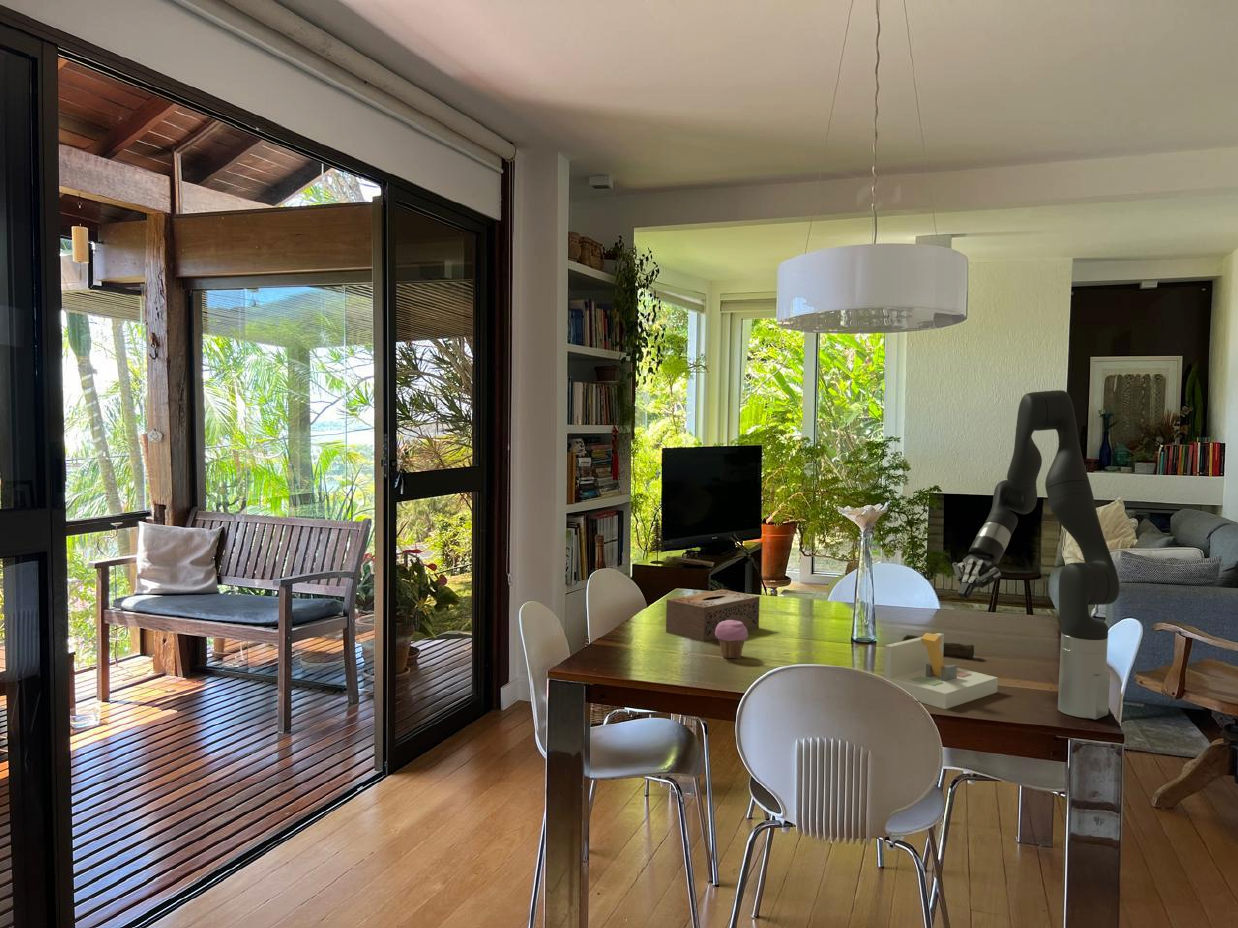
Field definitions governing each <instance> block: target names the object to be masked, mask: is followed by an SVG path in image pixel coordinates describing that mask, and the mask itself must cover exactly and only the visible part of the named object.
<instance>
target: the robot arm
mask: <svg viewBox="0 0 1238 928" xmlns="http://www.w3.org/2000/svg"><path fill="white" fill-rule="evenodd" d="M1016 418H1017V419H1016V426H1015V427H1016V428H1015V436H1014V446H1013V447H1014V449H1013V454H1012V458H1011V460H1010V463H1009V464H1010V465H1009V467H1008V471H1007V474H1006V479H1004V480H1001V481H999V482H998V483H997V484H996V485H995V488H994V491H993V498H992V505H991V506H992V507H991V509H990V511H989V514H988V517H987V518H986V520H985V522H984V524H983V525H982V527H981V528H980V529H979V531H978V532H977V534H976V536H975V539H974V540H973V541H972V544H971V546H970V547H969V550H968V553H967V555H966V557H965V558H963V559H962V562H959V563H957V562H956V561H955V562H952V564H951V565H952V568H953V571H954V574H955V576H956V579H957V581H958V582H959V584H960V586H959V588H958V590H957V594H958V597H959V599H961V600H968V599H969V598H971V595H972V594H973V591H974V590H975V589H977V588H980V589H983V588H985V587H986V586H988V585H990V584H992V583H993V582H996V581H997V580H998V579H1000V578H1002V574H1001V572H1000V570H999V568H997V567H998V564H999V563H1000V561H1001V558H1002V557H1003V555H1004V553H1005V551H1006V549H1007V547H1008V545H1009V542H1010V540H1011V537H1012V534H1013V533H1014V531H1015V529H1016V528H1017V526H1018V523H1019V519H1018V516H1017V515H1016V514H1015V513H1018V514H1020V515H1028V514H1029V513H1030V514H1031V512H1033V510H1034V509H1035V508H1036V506H1037V503H1038V502H1037V501H1038V489H1037V480H1038V477H1039V474H1040V471H1041V468H1042V465H1043V463H1042V462H1043V459H1042V454H1041V452H1040V450H1039V448H1038V446H1037V445H1036V442H1034V439H1033V437H1032V435H1033V433H1034V432H1039V431H1041V432H1042V431H1050V430H1051V431H1052V430H1056V432H1057V436H1058V448H1057V452H1056V454H1055V456H1054V459H1053V461H1052V463H1051V464H1050V465H1051V466H1050V468H1049V469H1048V472H1047V474H1046V477H1045V482H1044V486H1045V487H1044V488H1045V492H1046V496H1047V499H1048V500H1047V501H1048V504H1049V509H1050V511H1051V512H1052V514H1053V516H1054V517H1055V519H1056V520H1057V521H1058V523H1059V524H1060V525H1061V526H1062V527H1063V528H1064V529H1065V530H1066V532H1067V533H1068V534H1069V535H1070V536H1071V538H1073V540H1074V541H1075V542H1076V544H1077V546H1078V548H1079V549H1080V552H1081V555H1082V557H1083V560H1084V562H1069V563H1066V564H1065V565H1063V567H1062V569H1060V570H1061V571H1060V574H1059V577H1058V617H1059V621H1060V626H1061V627H1060V630H1061V631H1060V651H1059V653H1060V654H1059V669H1058V670H1059V672H1058V674H1059V675H1058V696H1057V710H1058V711H1059V712H1061V713H1062V714H1065V715H1068V716H1072V717H1076V718H1081V719H1082V718H1083V719H1092V720H1099V719H1101V718H1103V717H1106V716H1108V715H1109V709H1110V707H1109V706H1110V683H1111V673H1110V671H1107V662H1108V644H1109V643H1108V641H1109V627H1108V625H1107V624H1106V623H1105V622H1103V621H1100V620H1097V619H1095V618H1093V617H1091V615H1090V612H1089V611H1090V610H1089V606H1093V605H1095V606H1097V605H1103V606H1104V605H1110V604H1113V603H1115V602H1116V600H1118V598H1119V595H1120V580H1119V575H1118V571H1117V569H1116V565H1115V563H1114V560H1113V558H1112V555H1111V551H1110V550H1109V546H1108V544H1107V542H1106V539H1105V536H1104V533H1103V529H1102V526H1101V522H1100V519H1099V515H1098V512H1097V507H1096V503H1095V497H1094V494H1093V491H1092V490H1093V489H1092V486H1091V482H1090V478H1089V476H1088V472H1087V468H1086V465H1085V461H1084V458H1083V453H1082V449H1081V443H1080V438H1079V432H1078V427H1077V426H1078V425H1077V420H1076V415H1075V408H1074V404H1073V401H1072V399H1071V396H1070V395H1069V393H1068V392H1067V391H1066V390H1061V389H1060V390H1059V389H1058V390H1056V389H1055V390H1045V391H1033V392H1028V393H1025V394H1024V395H1023V396H1022V398H1021V400H1020V402H1019V405H1018V410H1017V417H1016ZM1014 512H1015V513H1014ZM963 571H964V572H963ZM963 574H964V575H963Z"/></svg>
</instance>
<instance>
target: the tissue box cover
mask: <svg viewBox="0 0 1238 928" xmlns="http://www.w3.org/2000/svg"><path fill="white" fill-rule="evenodd" d="M665 611H666V612H665V633H668V634H672V635H675V636H679V637H684V638H687V639H688V638H689V639H691V640H696V641H700V642H707V641H711V640H716V639H718V638H717V637H716V636H715V630H716V627H717V625H718V624H719V623H720V622H722V621H726V620H735V621H740V622H742V623H743V625H744V626H745V627H746V629H747V631H748V632H750V631H753V630H757V629H759V627H760V596H758V595H753V594H750V593H749V594H748V593H745V592H744V593H743V592H738V591H733V590H728V589H718V590H711V591H706V592H701V593H695V594H691V595H690V594H689V595H684V596H679V597H673V598H669V599H666V609H665Z"/></svg>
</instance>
